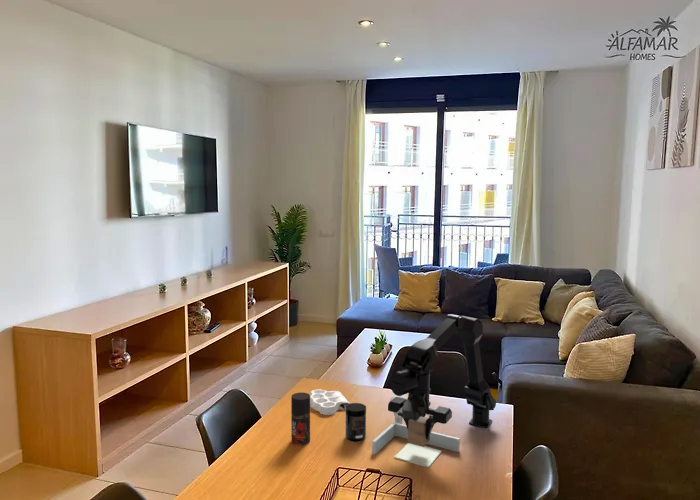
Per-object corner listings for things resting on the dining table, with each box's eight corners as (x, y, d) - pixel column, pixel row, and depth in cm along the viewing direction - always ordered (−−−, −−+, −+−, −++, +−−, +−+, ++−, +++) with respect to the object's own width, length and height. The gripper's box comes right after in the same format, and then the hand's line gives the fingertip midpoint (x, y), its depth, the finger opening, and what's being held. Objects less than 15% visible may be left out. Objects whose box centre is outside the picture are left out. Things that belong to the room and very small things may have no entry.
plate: (409, 443, 166) (409, 441, 166) (441, 451, 160) (441, 450, 160) (394, 458, 156) (394, 456, 156) (428, 467, 151) (428, 466, 151)
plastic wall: (393, 433, 172) (393, 422, 172) (459, 450, 161) (459, 438, 161) (372, 453, 159) (372, 441, 159) (442, 473, 148) (442, 460, 147)
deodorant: (313, 439, 168) (313, 394, 167) (304, 446, 163) (304, 400, 161) (297, 435, 171) (297, 391, 169) (288, 443, 165) (287, 397, 164)
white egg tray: (353, 412, 190) (314, 418, 185) (338, 394, 207) (302, 399, 202) (353, 404, 189) (314, 409, 185) (338, 386, 206) (302, 391, 201)
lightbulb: (406, 429, 175) (407, 398, 174) (388, 427, 177) (388, 396, 175) (408, 421, 182) (409, 391, 180) (390, 420, 183) (390, 389, 182)
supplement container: (359, 431, 174) (360, 401, 173) (369, 440, 168) (370, 409, 167) (341, 435, 171) (341, 405, 170) (351, 444, 165) (351, 412, 164)
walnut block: (414, 436, 161) (414, 414, 161) (429, 440, 159) (430, 418, 158) (407, 442, 157) (408, 420, 156) (423, 446, 155) (423, 424, 154)
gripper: (380, 389, 154) (379, 440, 155) (440, 402, 145) (438, 455, 146) (396, 378, 163) (395, 425, 165) (453, 389, 154) (451, 439, 156)
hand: (418, 436), depth 158 cm, fingers closed on walnut block, 5 cm apart
